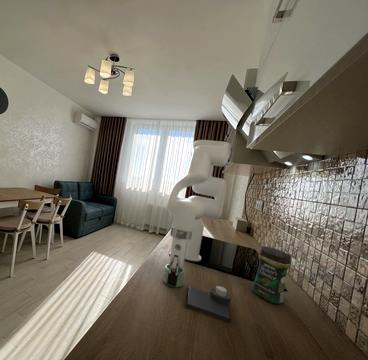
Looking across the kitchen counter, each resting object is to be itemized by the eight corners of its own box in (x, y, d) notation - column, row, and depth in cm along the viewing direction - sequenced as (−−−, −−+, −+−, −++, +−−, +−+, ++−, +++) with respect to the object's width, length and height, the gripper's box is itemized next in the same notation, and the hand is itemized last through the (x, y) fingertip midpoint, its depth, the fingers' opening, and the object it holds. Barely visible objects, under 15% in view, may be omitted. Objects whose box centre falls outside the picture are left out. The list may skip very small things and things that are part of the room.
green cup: (164, 276, 84) (166, 262, 84) (182, 281, 81) (185, 267, 81) (161, 283, 77) (163, 268, 77) (180, 290, 75) (183, 274, 75)
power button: (215, 290, 73) (216, 284, 73) (225, 293, 72) (226, 288, 72) (215, 295, 70) (216, 289, 70) (226, 298, 69) (227, 292, 69)
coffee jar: (248, 291, 83) (257, 244, 82) (259, 288, 87) (268, 244, 86) (275, 307, 74) (285, 254, 74) (286, 303, 78) (296, 254, 78)
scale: (188, 288, 77) (190, 280, 77) (227, 300, 73) (229, 292, 73) (186, 307, 65) (188, 297, 65) (233, 323, 61) (235, 313, 61)
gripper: (190, 242, 69) (180, 295, 70) (192, 231, 86) (184, 274, 86) (167, 236, 72) (158, 287, 72) (173, 226, 88) (166, 268, 89)
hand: (172, 280), depth 79 cm, fingers closed on green cup, 7 cm apart
